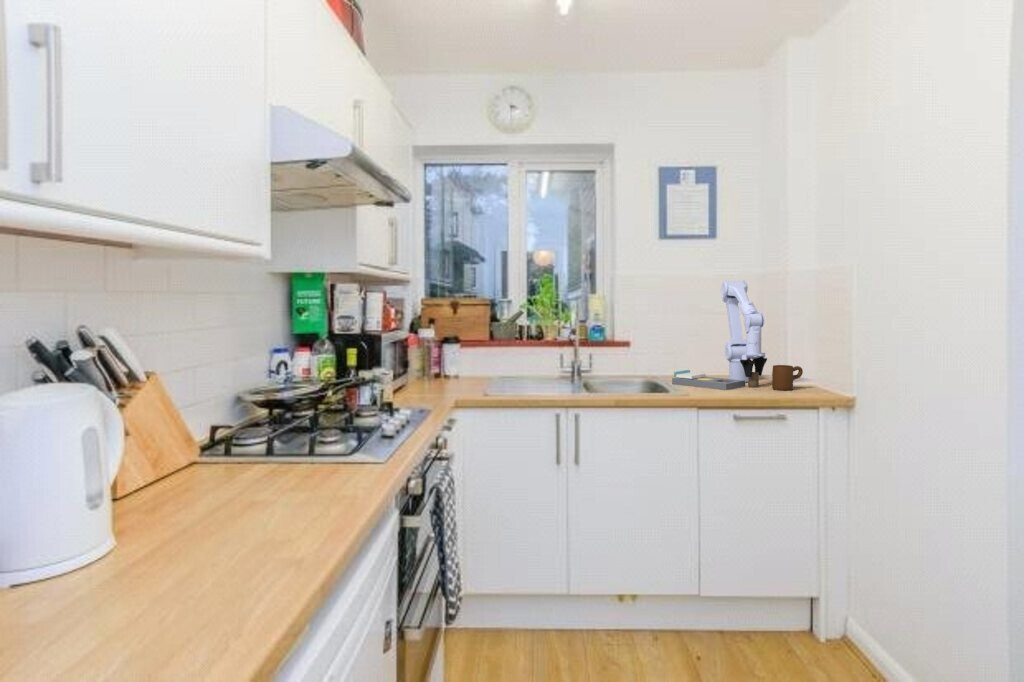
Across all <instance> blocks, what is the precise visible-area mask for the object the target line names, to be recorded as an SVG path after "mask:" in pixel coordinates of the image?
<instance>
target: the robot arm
mask: <svg viewBox="0 0 1024 682" xmlns="http://www.w3.org/2000/svg"><path fill="white" fill-rule="evenodd" d="M748 288H749V287H748V283H747V281H745V280H737V281H735V280H734V281H733V280H732V281H731V280H730V281H729V280H728V281H727V280H724V281H722V283H721V287H720V292H721V299H722V302H723V303H725V305H726V312H727V313H726V314H727V319H728V328H729V336H730V339H729V340H728V341H727V342H726V344H725V345H724V348H725V350H724V357H725V359H726V360H727V362H729V365H728V366H729V368H728V372H729V373H728V375H729V377H728V379H735V380H745V383H748V377H751V376H752V372H753V367H754V372H759V377H761V376H762V374H763V370H764V367H765V365H766V363H767V361H768V358H767V357H766V352H762V328H763V327H764V324H765V317H764V315H763V313H762V312H760V311H758V310H757V308H756V306H755V304H754V302H752V301H750V300H749V296H748V294H747V292H748ZM739 304H740V306H739ZM740 311H741V315H742V316H743V325H744V331H745V332H746V333H745V336H746V337H745V338H746V339H745V338H744V337H743V331H742V323H741V317H740Z"/></svg>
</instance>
